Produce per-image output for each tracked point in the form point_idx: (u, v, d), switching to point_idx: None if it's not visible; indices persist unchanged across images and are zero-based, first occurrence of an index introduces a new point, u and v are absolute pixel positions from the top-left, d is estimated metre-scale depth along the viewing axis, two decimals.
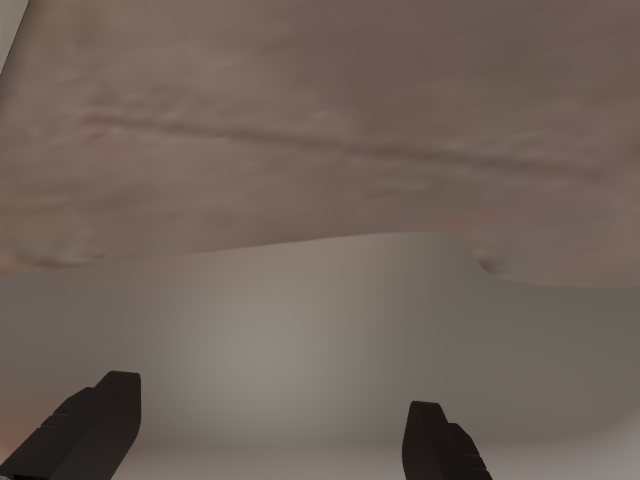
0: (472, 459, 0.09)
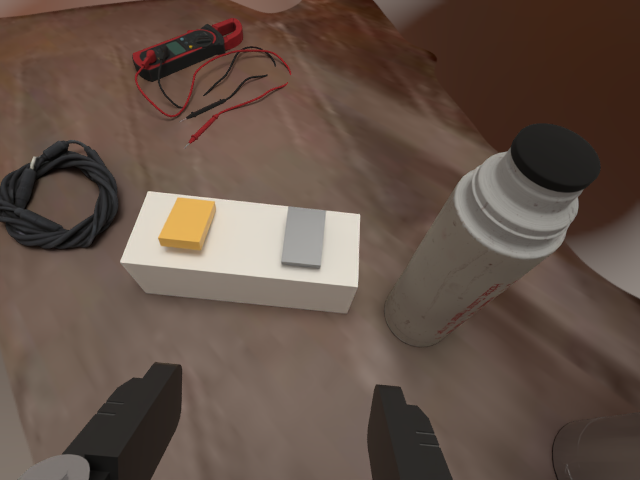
0: (426, 437, 0.10)
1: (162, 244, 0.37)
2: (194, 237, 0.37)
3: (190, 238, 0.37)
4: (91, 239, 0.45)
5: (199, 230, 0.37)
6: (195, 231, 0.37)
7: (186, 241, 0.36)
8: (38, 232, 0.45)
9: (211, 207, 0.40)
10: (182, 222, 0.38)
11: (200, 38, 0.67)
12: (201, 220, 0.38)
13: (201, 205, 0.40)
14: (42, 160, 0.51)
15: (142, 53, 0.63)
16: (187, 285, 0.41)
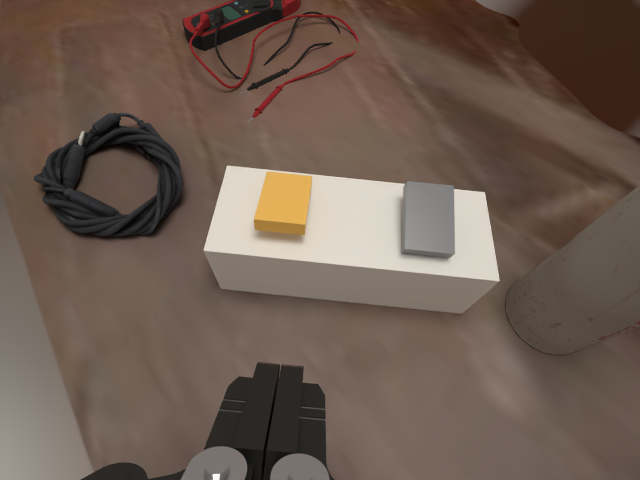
0: (315, 412, 0.10)
1: (257, 227, 0.29)
2: (298, 218, 0.29)
3: (293, 220, 0.29)
4: (154, 225, 0.38)
5: (302, 210, 0.30)
6: (297, 211, 0.30)
7: (289, 223, 0.29)
8: (92, 217, 0.38)
9: (310, 183, 0.32)
10: (279, 200, 0.30)
11: (256, 2, 0.59)
12: (301, 198, 0.31)
13: (297, 181, 0.32)
14: (91, 135, 0.44)
15: (193, 19, 0.56)
16: (277, 279, 0.34)
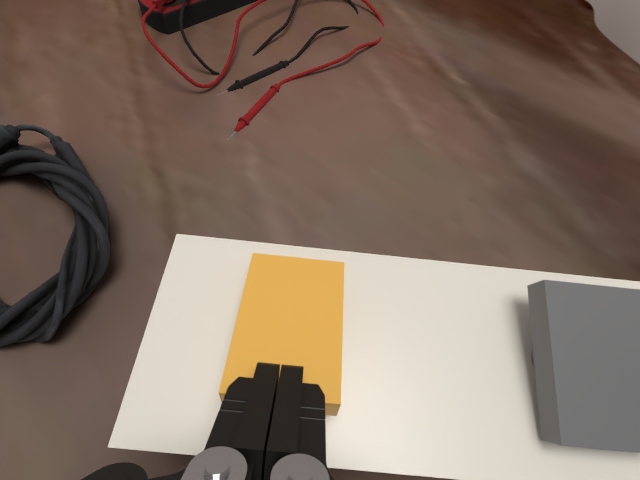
0: (316, 411, 0.10)
1: None
2: (322, 386, 0.13)
3: None
4: (52, 329, 0.21)
5: (331, 359, 0.13)
6: (320, 362, 0.13)
7: None
8: None
9: (342, 279, 0.16)
10: (278, 331, 0.14)
11: None
12: (326, 323, 0.14)
13: (315, 276, 0.16)
14: None
15: None
16: None
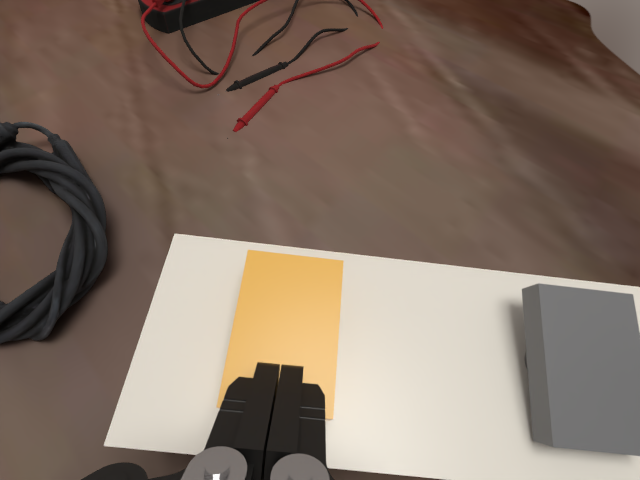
0: (315, 411, 0.10)
1: None
2: None
3: None
4: (48, 328, 0.21)
5: (325, 372, 0.13)
6: (314, 375, 0.13)
7: None
8: None
9: (340, 281, 0.15)
10: (274, 342, 0.14)
11: None
12: (322, 331, 0.14)
13: (313, 278, 0.15)
14: None
15: None
16: None
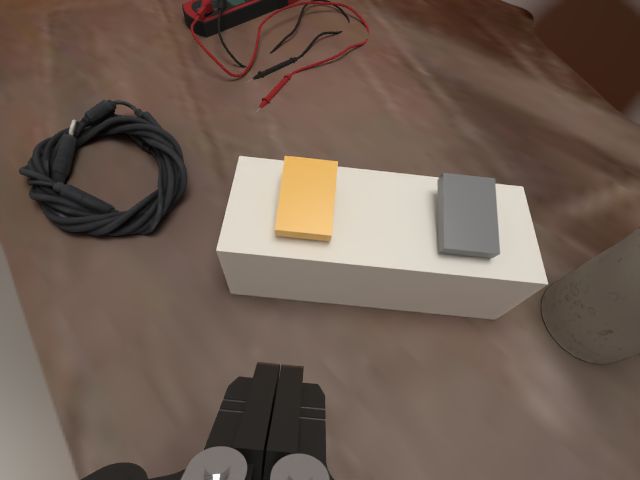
0: (315, 411, 0.10)
1: (278, 234, 0.27)
2: (323, 227, 0.26)
3: (317, 229, 0.26)
4: (156, 223, 0.34)
5: (328, 215, 0.27)
6: (322, 216, 0.27)
7: (313, 234, 0.26)
8: (85, 214, 0.34)
9: (335, 172, 0.28)
10: (301, 201, 0.27)
11: None
12: (326, 197, 0.27)
13: (321, 170, 0.28)
14: (84, 124, 0.40)
15: (194, 3, 0.52)
16: (296, 283, 0.30)
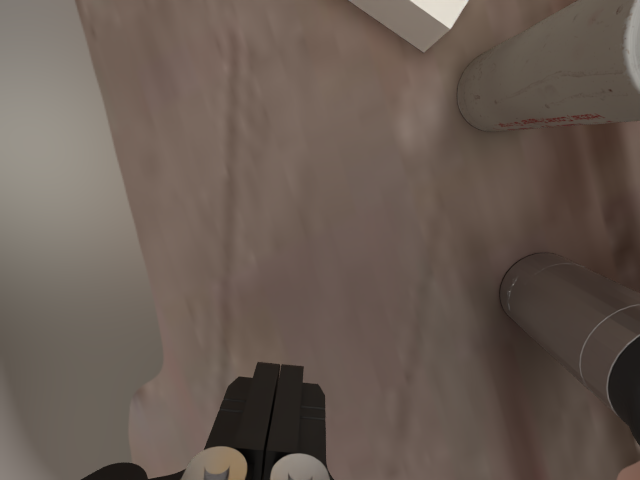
0: (315, 411, 0.10)
1: None
2: None
3: None
4: None
5: None
6: None
7: None
8: None
9: None
10: None
11: None
12: None
13: None
14: None
15: None
16: None
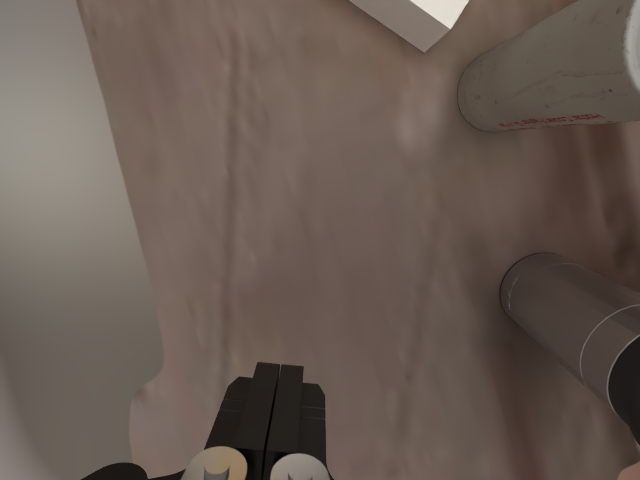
0: (315, 411, 0.10)
1: None
2: None
3: None
4: None
5: None
6: None
7: None
8: None
9: None
10: None
11: None
12: None
13: None
14: None
15: None
16: None
